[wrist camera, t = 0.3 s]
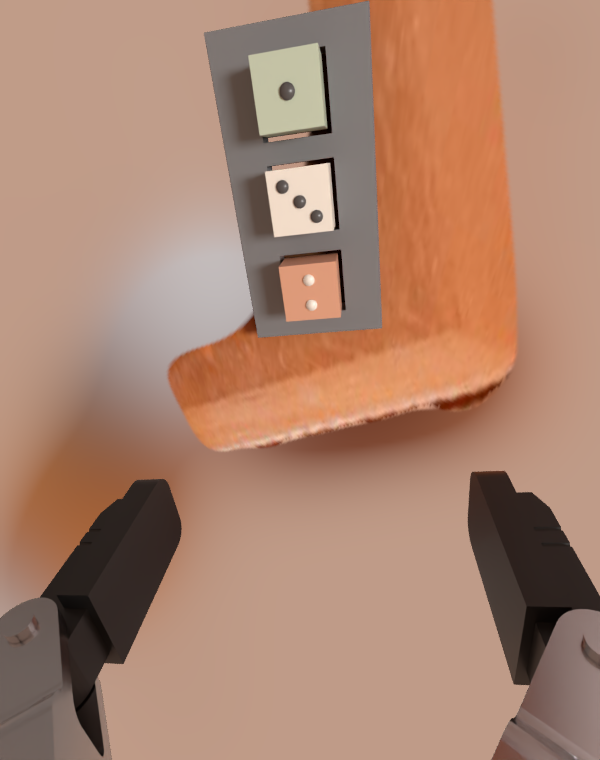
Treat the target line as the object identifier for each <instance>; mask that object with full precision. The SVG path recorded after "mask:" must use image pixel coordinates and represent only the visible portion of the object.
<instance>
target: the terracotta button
mask: <svg viewBox="0 0 600 760" xmlns="http://www.w3.org/2000/svg"><path fill="white" fill-rule="evenodd" d="M279 274H280V280H281V287H282V294H283V301H284V308H285V315H286V322H289V321H302V320H314V319H326V318H339V317H341V309H342V300H341V288H340V276H339V263H338V253H331V254H321V255H312V256H302V257H293V258H285V259H284V260H283V262H282V263H281V264H280V266H279Z"/></svg>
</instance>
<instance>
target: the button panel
mask: <svg viewBox="0 0 600 760" xmlns="http://www.w3.org/2000/svg"><path fill="white" fill-rule="evenodd" d="M204 36H205V42H206V47H207V53H208V58H209V64H210V70H211V75H212V81H213V87H214V92H215V97H216V103H217V109H218V115H219V120H220V126H221V131H222V137H223V143H224V148H225V153H226V160H227V165H228V171H229V176H230V182H231V188H232V193H233V199H234V205H235V210H236V216H237V221H238V227H239V233H240V238H241V244H242V250H243V255H244V261H245V266H246V272H247V278H248V283H249V289H250V294H251V300H252V306H253V311H254V317H255V323H256V328H257V334H258V338H259V337H272V336H285V335H298V334H311V333H325V332H338V331H351V330H364V329H377V328H382V314H381V288H380V263H379V237H378V211H377V186H376V160H375V135H374V109H373V84H372V58H371V32H370V7H369V1H365V2H360V3H355V4H350V5H345V6H339V7H334V8H329V9H324V10H319V11H314V12H309V13H303V14H299V15H293V16H288V17H283V18H278V19H273V20H267V21H262V22H257V23H252V24H247V25H242V26H237V27H231V28H226V29H221V30H216V31H211V32H206V33H204ZM313 43H318V45H319V48H320V51H321V54H324V53H326V60H327V73H328V86H329V99H330V112H331V125H332V133H329V134H322V135H316V136H309V137H302V138H295V139H289V140H282V141H275V142H269V143H268V138H267V137H263V136H260V134H259V127H258V121H257V114H256V107H255V100H254V93H253V86H252V79H251V72H250V65H249V58H248V55H253V54H259V53H264V52H270V51H275V50H281V49H286V48H292V47H297V46H302V45H308V44H313ZM327 158H334V163H335V176H336V189H337V202H338V215H339V226H335V227H334V231H326V232H317V233H308V234H299V235H290V236H281V237H274V232H273V225H272V218H271V211H270V204H269V197H268V190H267V183H266V176H265V172H267V171H272V166H276V165H283V164H290V163H297V162H305V161H312V160H319V159H327ZM331 250H341V254H342V266H343V279H344V292H345V303H342V309H341V317H339V318H326V319H314V320H302V321H289V322H286V315H285V308H284V301H283V294H282V287H281V280H280V274H279V266H280V264H281V263H282V262H283V260H284V255H294V254H303V253H312V252H322V251H331Z"/></svg>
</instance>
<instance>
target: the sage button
mask: <svg viewBox="0 0 600 760" xmlns="http://www.w3.org/2000/svg"><path fill="white" fill-rule="evenodd" d="M248 58H249V65H250V72H251V79H252V86H253V93H254V100H255V107H256V114H257V121H258V127H259V134H260V136H263V137H267V138H270V137H277V136H284V135H290V134H297V133H304V132H310V131H317V130H324V129H328V128H327V116H326V104H325V91H324V79H323V67H322V55H321V51H320V48H319V45H318V43H313V44H308V45H302V46H297V47H292V48H286V49H281V50H275V51H270V52H264V53H259V54H253V55H248Z"/></svg>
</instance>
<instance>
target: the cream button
mask: <svg viewBox="0 0 600 760" xmlns="http://www.w3.org/2000/svg"><path fill="white" fill-rule="evenodd" d="M265 176H266V183H267V190H268V197H269V204H270V211H271V218H272V225H273V232H274V237H281V236H290V235H299V234H308V233H317V232H326V231H334V227H335V214H334V202H333V190H332V177H331V165H330V163H325V164H317V165H310V166H303V167H296V168H288V169H281V170H274V171H267V172H265Z"/></svg>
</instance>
